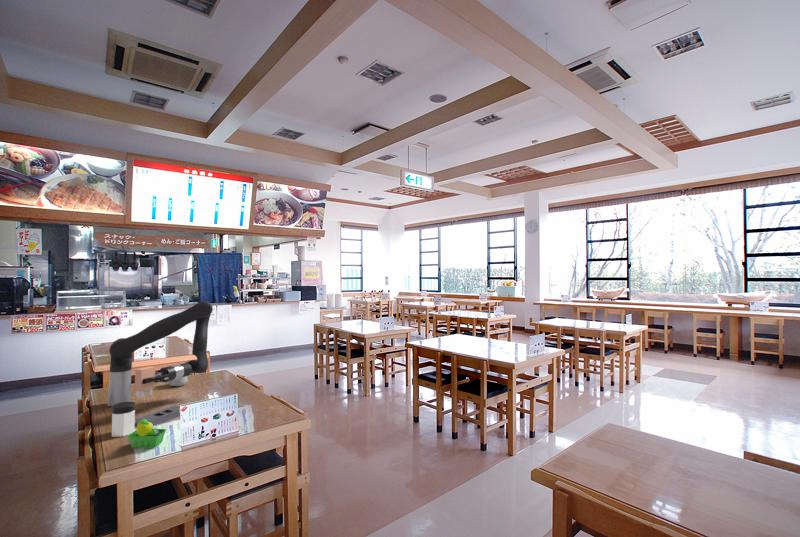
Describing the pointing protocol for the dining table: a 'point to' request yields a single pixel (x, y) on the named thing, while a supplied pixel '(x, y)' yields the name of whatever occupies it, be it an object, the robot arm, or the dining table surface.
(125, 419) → the jar
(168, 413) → the grey flat block
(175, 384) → the teacup
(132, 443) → the fruit basket
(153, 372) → the light brown rectangular block
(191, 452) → the dining table surface
